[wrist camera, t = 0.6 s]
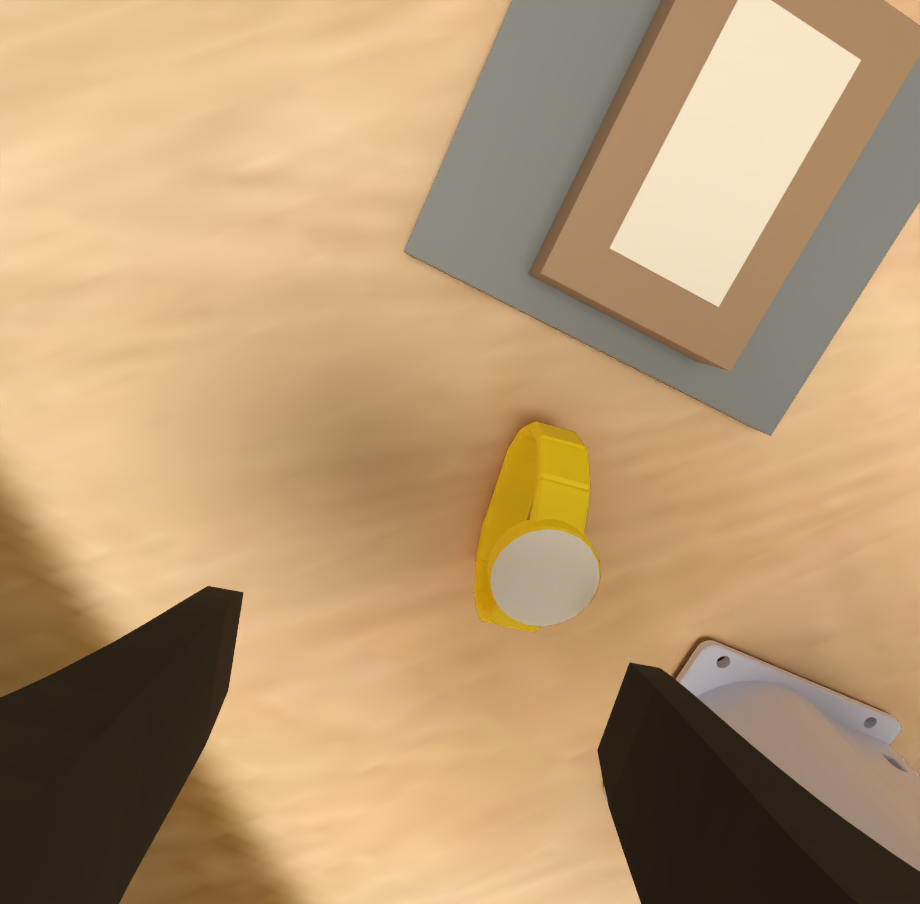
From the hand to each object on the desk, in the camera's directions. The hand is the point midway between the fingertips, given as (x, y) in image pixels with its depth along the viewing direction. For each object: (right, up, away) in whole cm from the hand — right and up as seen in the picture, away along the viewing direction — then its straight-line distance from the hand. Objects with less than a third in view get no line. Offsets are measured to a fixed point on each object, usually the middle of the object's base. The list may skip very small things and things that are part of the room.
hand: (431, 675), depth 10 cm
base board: (+7, +12, +7) cm, 16 cm away
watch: (+2, +3, +9) cm, 10 cm away
